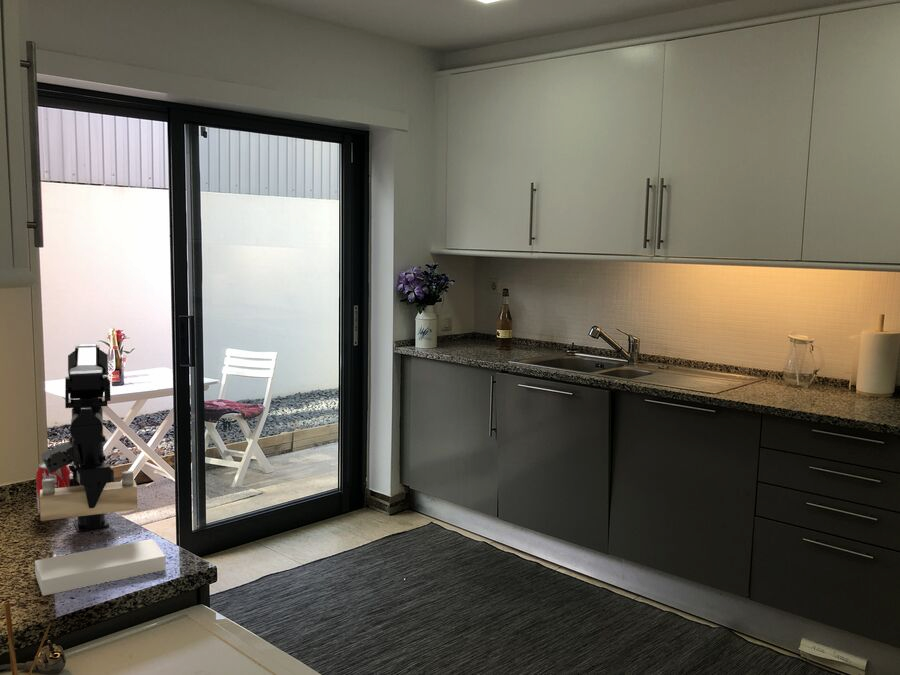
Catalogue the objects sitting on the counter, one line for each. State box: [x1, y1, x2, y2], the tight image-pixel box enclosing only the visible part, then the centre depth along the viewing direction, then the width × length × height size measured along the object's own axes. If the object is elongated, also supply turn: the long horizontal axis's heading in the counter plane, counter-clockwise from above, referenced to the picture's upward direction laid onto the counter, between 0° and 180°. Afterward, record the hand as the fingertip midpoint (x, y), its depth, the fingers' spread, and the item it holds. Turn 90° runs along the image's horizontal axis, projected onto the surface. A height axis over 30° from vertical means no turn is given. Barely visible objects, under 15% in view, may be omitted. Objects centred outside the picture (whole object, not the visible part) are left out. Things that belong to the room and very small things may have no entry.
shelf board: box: [34, 538, 167, 597], centre depth 153 cm, size 10×22×3 cm, turn 125°
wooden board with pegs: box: [39, 470, 138, 522], centre depth 160 cm, size 4×18×8 cm, turn 117°
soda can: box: [35, 461, 71, 514], centre depth 182 cm, size 7×7×12 cm
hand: (89, 504), depth 161 cm, fingers closed on wooden board with pegs, 5 cm apart
